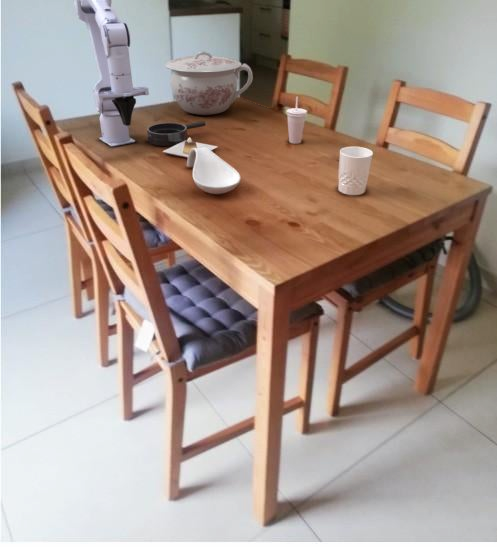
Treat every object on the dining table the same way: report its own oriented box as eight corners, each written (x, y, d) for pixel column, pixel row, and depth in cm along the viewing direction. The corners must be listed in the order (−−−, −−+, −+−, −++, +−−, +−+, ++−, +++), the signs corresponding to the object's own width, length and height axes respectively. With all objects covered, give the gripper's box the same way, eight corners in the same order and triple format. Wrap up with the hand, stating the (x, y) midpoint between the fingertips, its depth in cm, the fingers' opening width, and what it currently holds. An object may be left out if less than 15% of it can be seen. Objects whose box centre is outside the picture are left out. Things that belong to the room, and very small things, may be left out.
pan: (141, 139, 158) (140, 127, 155) (175, 132, 164) (174, 120, 162) (160, 149, 149) (159, 136, 147) (194, 142, 156) (194, 129, 154)
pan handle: (182, 129, 159) (181, 124, 158) (202, 125, 163) (202, 120, 162) (184, 130, 158) (184, 125, 157) (205, 126, 162) (205, 121, 161)
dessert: (185, 143, 154) (184, 128, 152) (218, 150, 150) (217, 134, 147) (162, 155, 146) (160, 139, 143) (196, 162, 141) (195, 145, 138)
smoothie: (282, 143, 155) (284, 97, 148) (288, 137, 160) (290, 92, 153) (301, 146, 153) (304, 99, 146) (307, 140, 158) (310, 94, 151)
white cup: (360, 199, 120) (366, 159, 115) (330, 192, 124) (334, 153, 118) (371, 188, 126) (377, 150, 121) (343, 181, 129) (347, 144, 124)
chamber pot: (153, 112, 184) (147, 52, 172) (200, 98, 203) (197, 43, 191) (212, 125, 170) (210, 61, 159) (256, 109, 189) (257, 50, 178)
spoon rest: (248, 195, 122) (248, 167, 118) (203, 203, 118) (201, 174, 114) (213, 163, 140) (212, 138, 136) (173, 169, 136) (171, 144, 132)
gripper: (100, 79, 125) (108, 132, 133) (151, 72, 133) (156, 123, 140) (89, 74, 130) (98, 126, 137) (139, 68, 137) (145, 117, 145)
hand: (126, 124), depth 139 cm, fingers closed
